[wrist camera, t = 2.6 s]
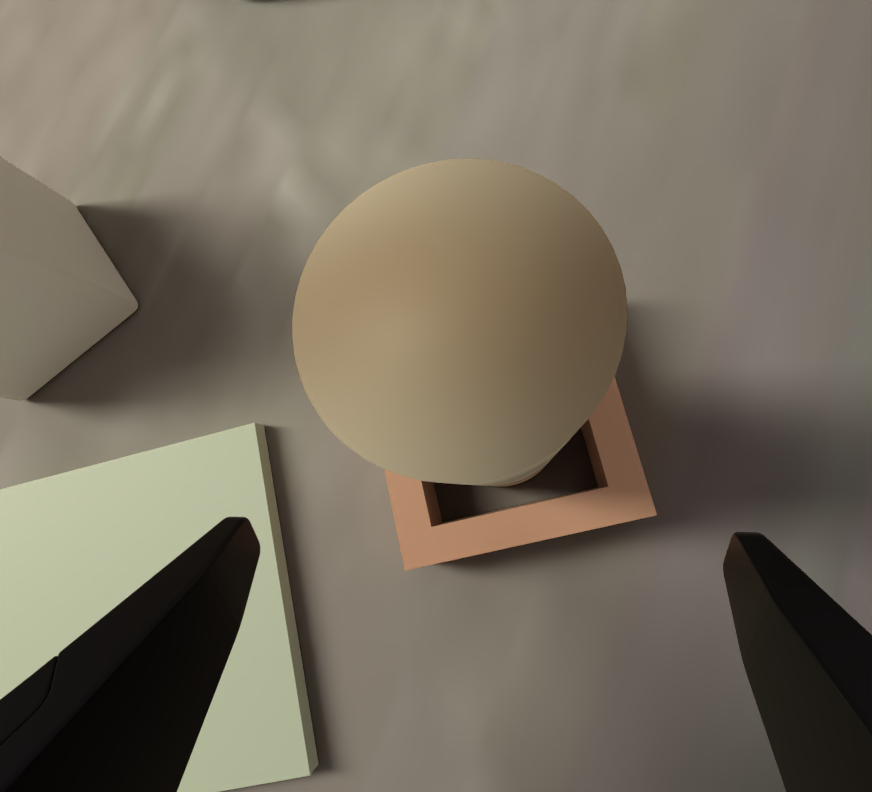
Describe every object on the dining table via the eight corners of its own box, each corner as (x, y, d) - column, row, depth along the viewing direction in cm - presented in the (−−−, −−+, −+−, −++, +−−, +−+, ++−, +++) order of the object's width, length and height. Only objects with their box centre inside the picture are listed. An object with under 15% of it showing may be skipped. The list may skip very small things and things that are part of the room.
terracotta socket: (640, 512, 19) (656, 515, 17) (419, 560, 20) (404, 570, 18) (577, 299, 21) (583, 275, 19) (375, 354, 22) (357, 337, 20)
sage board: (318, 764, 20) (310, 775, 19) (13, 818, 21) (-7, 831, 20) (263, 425, 22) (254, 422, 22) (-4, 495, 24) (-22, 495, 23)
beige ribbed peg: (572, 471, 20) (674, 435, 6) (456, 498, 21) (323, 518, 7) (541, 359, 21) (572, 117, 7) (431, 387, 21) (269, 212, 8)
